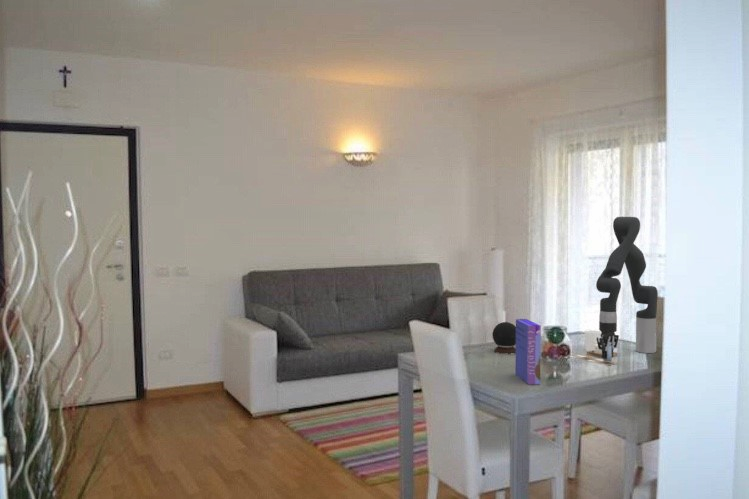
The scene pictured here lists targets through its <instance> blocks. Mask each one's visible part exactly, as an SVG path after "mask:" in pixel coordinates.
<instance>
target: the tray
mask: <svg viewBox="0 0 749 499" xmlns="http://www.w3.org/2000/svg"><path fill="white" fill-rule="evenodd" d="M586 356H588V357H593V358H598V359H603V358H602V354H598V353H594V350H593V351H587V350H586ZM615 357H618V352H615V351H613V358H615Z"/></svg>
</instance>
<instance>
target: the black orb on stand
mask: <svg viewBox="0 0 749 499" xmlns="http://www.w3.org/2000/svg"><path fill="white" fill-rule="evenodd" d="M492 339H493V341H494V343H495V345H496V347H495V348H494V349H493V350H494V351H496V352H499V353H498V354H500V353H508V354H507V355H512V354H511V353H514V354H516V347H515V346H516V325H515V324H514V323H511V322H509V321H504V322H499V323H498V324H497V325H495V327H494V328H493V330H492ZM494 351H493V352H494ZM496 352H495V353H496Z"/></svg>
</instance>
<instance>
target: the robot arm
mask: <svg viewBox="0 0 749 499" xmlns="http://www.w3.org/2000/svg"><path fill="white" fill-rule="evenodd" d="M612 227H613V229H612V230H613V233H614V235H615V237H616V240H617V242H618V246H616V248H615V249H614V250H613V251H612V252H611V253H610V255H609V256H608V260H607V262H606V266H605V268H604V269H603V271H602V272H601V274H600V275H599V276H598V278H597V281H596V285H595V286H596V290H597V291H598V292H599V293H604V294H605V293H606V294H609V295H608V297H602V298H601V299H600V301H599V317H598V318H599V320H598V322H599V324H598V327H599V328H598V331H600V332H601V336H600V337H597V344H598V348H599V349H600V350H602V358H601V359H602V360H603V359H607V348H608V346H609V342H611V347H612V359H613V358H614V357H613V352H614V350H615V349H616V348H617V346H618V341H619V337H620V335H618V334H616V333H617V330H618V329H617V327H618V326H617V325H618V316H617V302H618V298H619V294H620V292H621V288H622V285H621V284H622V283H621V281H620V279H618V278H616V277H617V276H620V275H621V274H622V272H623V268H624V265H625V267H626V271H627V276H628V277H629V283H630V288H631V289H630V290H631V294H632V299H633V301H634V302H635V303H636V304H641V305H647V307H646V308H644V309H642V310H641V309H640V310H637V311H636V313H635V351H636V352H637V353H641V354H654V353H656V352H657V311H658V300H659V296H658V294H659V293H658V292H659V291H658V288H657V287H656V286H653V285H643V284H641V282H640V280H641V277H642V276H643V274H644V273H645V270H646V269H647V263H646V259H645V256H644V255H645V254H644V253H643V251H642V250H641V249H640V248H639V247H638V246H637V245H636V244H635V241H636V240H637V237H638V235H639V233H640V231H641V221H640V218H638V217H636V216H616V217H615V218H614V220H613V222H612ZM615 332H616V333H615ZM604 343H606V344H604ZM604 345H605V347H604Z"/></svg>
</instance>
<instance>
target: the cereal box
mask: <svg viewBox="0 0 749 499" xmlns="http://www.w3.org/2000/svg"><path fill="white" fill-rule="evenodd" d="M515 327H516V344H515V348H516V353H515V369H514V370H515V372H514V373H515V374H514V375H515V376H516V377H517V378H519V379H520V380H522V381H523V382H524V383H525V384H526V385H527V386H540V385H541V367H542V366H541V365H542V364H541V360H542V358H541V354H542V352H541V350H542V349H541V348H542V346H541V345H542V344H541V342H542V341H541V340H542V337H541V336H542V332H541V331H542V325H541V324H538V323H536V322H533V321H532V320H530V319H527V318H516V319H515Z"/></svg>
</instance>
